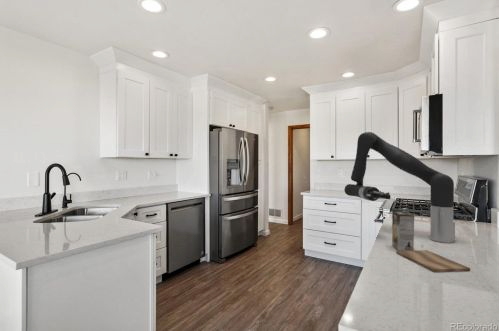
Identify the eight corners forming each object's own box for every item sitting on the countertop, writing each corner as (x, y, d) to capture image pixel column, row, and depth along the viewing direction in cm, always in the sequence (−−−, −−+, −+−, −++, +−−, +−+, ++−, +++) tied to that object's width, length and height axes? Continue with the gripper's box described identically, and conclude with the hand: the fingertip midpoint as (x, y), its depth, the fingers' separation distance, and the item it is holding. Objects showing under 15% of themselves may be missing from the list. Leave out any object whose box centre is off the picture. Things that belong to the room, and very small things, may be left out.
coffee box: (391, 245, 123) (391, 211, 123) (406, 246, 121) (406, 211, 122) (398, 251, 114) (398, 214, 114) (414, 252, 112) (415, 215, 113)
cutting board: (426, 252, 113) (426, 250, 113) (470, 271, 93) (470, 268, 93) (396, 253, 111) (396, 251, 111) (434, 272, 92) (434, 269, 92)
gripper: (357, 186, 144) (376, 189, 127) (380, 186, 145) (401, 189, 128) (357, 199, 144) (376, 204, 127) (379, 199, 145) (401, 204, 128)
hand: (389, 197), depth 127 cm, fingers closed
